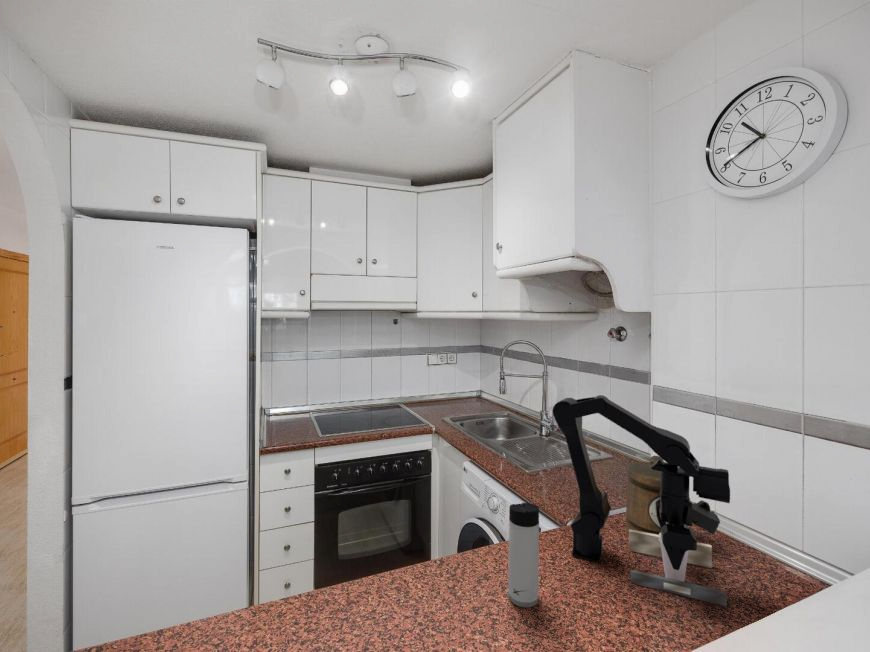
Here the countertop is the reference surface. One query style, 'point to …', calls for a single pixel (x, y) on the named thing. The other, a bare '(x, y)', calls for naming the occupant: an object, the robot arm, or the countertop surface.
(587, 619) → the countertop surface
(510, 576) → the travel mug
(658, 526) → the wooden container
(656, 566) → the countertop surface
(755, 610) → the countertop surface
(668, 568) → the smoothie
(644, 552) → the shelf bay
